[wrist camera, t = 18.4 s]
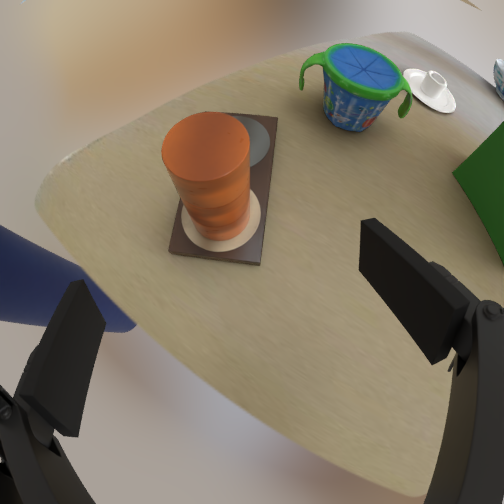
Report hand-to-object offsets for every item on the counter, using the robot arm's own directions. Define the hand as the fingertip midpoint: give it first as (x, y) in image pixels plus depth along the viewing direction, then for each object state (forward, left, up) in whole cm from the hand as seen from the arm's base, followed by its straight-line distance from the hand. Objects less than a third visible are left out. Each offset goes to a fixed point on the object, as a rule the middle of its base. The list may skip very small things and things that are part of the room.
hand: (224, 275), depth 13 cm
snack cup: (+12, +29, -18) cm, 36 cm away
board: (-3, +15, -18) cm, 24 cm away
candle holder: (+30, +42, -18) cm, 54 cm away
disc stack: (-3, +10, -17) cm, 20 cm away
